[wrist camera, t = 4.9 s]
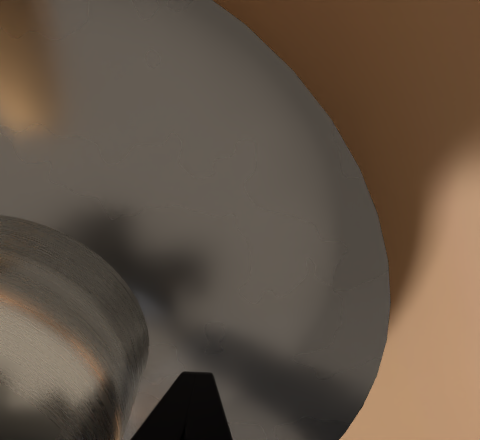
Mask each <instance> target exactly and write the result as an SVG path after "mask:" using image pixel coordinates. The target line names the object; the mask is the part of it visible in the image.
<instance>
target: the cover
mask: <svg viewBox="0 0 480 440" xmlns="http://www.w3.org/2000/svg"><path fill="white" fill-rule="evenodd" d="M148 354H149V334H148V328H147V323H146V320H145V317H144V314H143V311H142V309H141V307H140V305H139V303H138V301H137V299H136V297H135V295H134V294H133V292H132V291H131V289H130V288H129V287H128V285H127V284H126V282H125V281H124V280H123V279H122V278H121V276H120V275H119V274H118V273H117V272H116V271H115V270H114V269H113V268H112V267H111V266H110V265H109V264H108V263H107V262H106V261H105V260H103V259H102V258H101V257H100V256H99V255H97V254H96V253H95V252H93V251H92V250H90V249H89V248H88V247H86V246H85V245H83V244H82V243H80V242H78V241H76V240H75V239H73V238H71V237H70V236H68V235H66V234H64V233H61V232H59V231H57V230H55V229H52V228H50V227H48V226H45V225H42V224H39V223H35V222H32V221H29V220H25V219H20V218H15V217H11V216H3V215H0V440H122V439H123V436H124V433H125V430H126V427H127V423H128V420H129V417H130V414H131V411H132V408H133V405H134V402H135V399H136V396H137V392H138V389H139V386H140V383H141V380H142V377H143V374H144V371H145V368H146V364H147V360H148Z"/></svg>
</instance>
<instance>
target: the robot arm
mask: <svg viewBox="0 0 480 440" xmlns="http://www.w3.org/2000/svg"><path fill="white" fill-rule="evenodd" d="M130 440H233V438H232V435H231V432H230V428H229V425H228V422H227V418H226V415H225V412H224V408H223V405H222V401H221V398H220V395H219V391H218V388H217V385H216V381H215V378H214V375H213V373H212V372H191V371H184V372H182V373H181V374H180V375H179V376H178V377H177V379H176V380H175V381H174V383H173V384H172V385H171V387H170V388H169V389H168V391H167V392H166V393H165V395H164V396H163V397H162V398H161V400H160V401H159V402H158V404H157V405H156V406H155V408H154V409H153V410H152V412H151V413H150V414H149V416H148V417H147V418H146V420H145V421H144V422H143V423H142V425H141V426H140V427H139V429H138V430H137V431H136V433H135V434H134V435H133V437H132V438H131V439H130Z"/></svg>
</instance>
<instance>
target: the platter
mask: <svg viewBox="0 0 480 440" xmlns="http://www.w3.org/2000/svg"><path fill="white" fill-rule="evenodd" d="M0 215H3V216H11V217H15V218H20V219H25V220H29V221H32V222H35V223H39V224H42V225H45V226H48V227H50V228H52V229H55V230H57V231H59V232H61V233H64V234H66V235H68V236H70V237H71V238H73V239H75V240H76V241H78V242H80V243H82V244H83V245H85V246H86V247H88V248H89V249H90V250H92V251H93V252H95V253H96V254H97V255H99V256H100V257H101V258H102V259H103V260H105V261H106V262H107V263H108V264H109V265H110V266H111V267H112V268H113V269H114V270H115V271H116V272H117V273H118V274H119V275H120V276H121V278H122V279H123V280H124V281H125V282H126V284H127V285H128V287H129V288H130V289H131V291H132V292H133V294H134V295H135V297H136V299H137V301H138V303H139V305H140V307H141V309H142V311H143V314H144V317H145V320H146V323H147V328H148V334H149V354H148V360H147V364H146V368H145V371H144V374H143V377H142V380H141V383H140V386H139V389H138V392H137V396H136V399H135V402H134V405H133V408H132V411H131V414H130V417H129V420H128V423H127V427H126V430H125V433H124V436H123V439H122V440H130V439H131V438H132V437H133V435H134V434H135V433H136V431H137V430H138V429H139V427H140V426H141V425H142V423H143V422H144V421H145V420H146V418H147V417H148V416H149V414H150V413H151V412H152V410H153V409H154V408H155V406H156V405H157V404H158V402H159V401H160V400H161V398H162V397H163V396H164V395H165V393H166V392H167V391H168V389H169V388H170V387H171V385H172V384H173V383H174V381H175V380H176V379H177V377H178V376H179V375H180V374H181V373H182V372H184V371H191V372H212V373H213V375H214V378H215V381H216V385H217V388H218V391H219V395H220V398H221V401H222V405H223V408H224V412H225V415H226V418H227V422H228V425H229V428H230V432H231V435H232V438H233V440H339V439H340V438H341V437H342V436H343V434H344V433H345V432H346V430H347V429H348V427H349V426H350V424H351V423H352V421H353V420H354V418H355V417H356V415H357V414H358V412H359V411H360V409H361V408H362V406H363V404H364V402H365V400H366V398H367V396H368V394H369V391H370V389H371V387H372V385H373V383H374V381H375V378H376V376H377V373H378V370H379V366H380V362H381V359H382V355H383V352H384V348H385V344H386V341H387V331H388V322H389V313H390V303H391V301H390V284H389V267H388V258H387V253H386V249H385V244H384V240H383V235H382V231H381V226H380V222H379V217H378V214H377V211H376V209H375V206H374V204H373V201H372V199H371V196H370V194H369V191H368V189H367V186H366V183H365V181H364V178H363V176H362V173H361V171H360V168H359V166H358V165H357V163H356V161H355V160H354V158H353V156H352V154H351V153H350V151H349V149H348V147H347V146H346V144H345V142H344V140H343V139H342V137H341V135H340V133H339V132H338V130H337V128H336V127H335V125H334V123H333V121H332V120H331V118H330V117H329V116H328V114H327V113H326V112H325V111H324V109H323V108H322V107H321V106H320V104H319V103H318V102H317V100H316V99H315V98H314V97H313V95H312V94H311V93H310V91H309V90H308V89H307V88H306V86H305V85H304V84H303V83H302V81H301V80H300V79H299V77H298V76H297V75H296V74H295V72H294V71H293V70H292V69H291V68H290V67H289V66H288V65H287V64H286V63H285V62H284V61H283V60H282V59H281V58H279V57H278V56H277V55H276V54H275V53H274V52H273V51H272V50H271V49H270V48H269V47H268V46H267V45H266V44H265V43H264V42H263V41H262V40H261V39H260V38H259V37H258V36H257V35H256V34H255V33H254V32H253V31H252V30H250V29H249V28H248V27H247V26H246V25H245V24H244V23H243V22H241V21H240V20H239V19H237V18H236V17H234V16H233V15H232V14H230V13H229V12H228V11H226V10H225V9H224V8H222V7H221V6H219V5H218V4H217V3H215V2H214V1H213V0H0Z"/></svg>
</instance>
